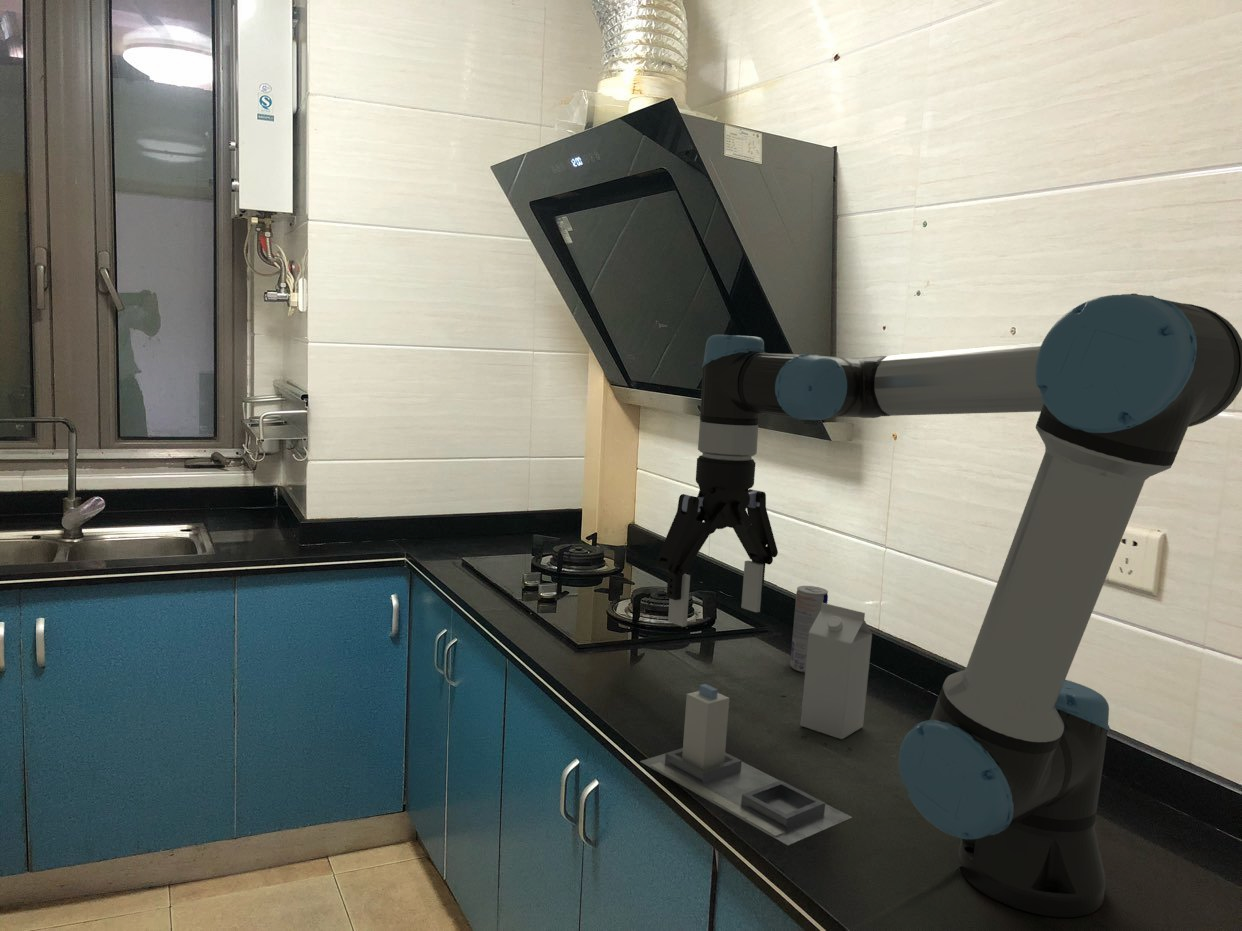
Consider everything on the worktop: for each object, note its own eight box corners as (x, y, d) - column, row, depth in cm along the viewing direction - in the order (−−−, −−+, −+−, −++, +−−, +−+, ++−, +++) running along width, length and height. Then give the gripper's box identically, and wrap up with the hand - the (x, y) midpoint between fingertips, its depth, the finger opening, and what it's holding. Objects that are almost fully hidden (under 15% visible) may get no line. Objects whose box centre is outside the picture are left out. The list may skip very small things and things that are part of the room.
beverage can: (821, 676, 172) (828, 594, 170) (789, 672, 173) (796, 590, 171) (821, 666, 178) (828, 586, 176) (790, 662, 179) (797, 583, 177)
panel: (851, 824, 118) (853, 805, 118) (787, 853, 110) (789, 832, 110) (702, 748, 138) (703, 731, 138) (639, 768, 130) (640, 750, 130)
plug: (723, 769, 129) (730, 689, 128) (702, 776, 127) (708, 694, 125) (702, 758, 132) (708, 679, 131) (681, 765, 130) (687, 685, 128)
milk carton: (821, 714, 154) (832, 598, 151) (863, 728, 149) (874, 608, 147) (799, 726, 148) (810, 606, 146) (842, 740, 144) (854, 617, 141)
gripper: (769, 450, 135) (758, 598, 137) (634, 455, 119) (624, 622, 121) (811, 456, 129) (799, 610, 132) (675, 462, 113) (664, 638, 116)
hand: (715, 616), depth 127 cm, fingers open, 13 cm apart
